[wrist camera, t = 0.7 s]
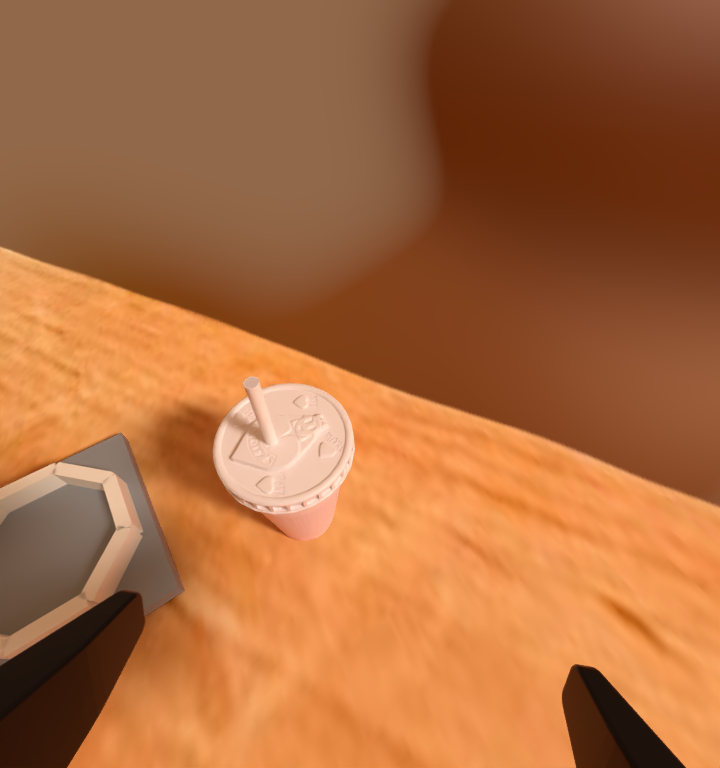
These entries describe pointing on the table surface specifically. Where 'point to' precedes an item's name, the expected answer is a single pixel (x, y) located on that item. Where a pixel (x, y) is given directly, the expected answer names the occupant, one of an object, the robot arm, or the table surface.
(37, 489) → the board
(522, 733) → the table surface
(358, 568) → the table surface
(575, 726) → the robot arm
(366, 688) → the table surface
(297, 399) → the smoothie
